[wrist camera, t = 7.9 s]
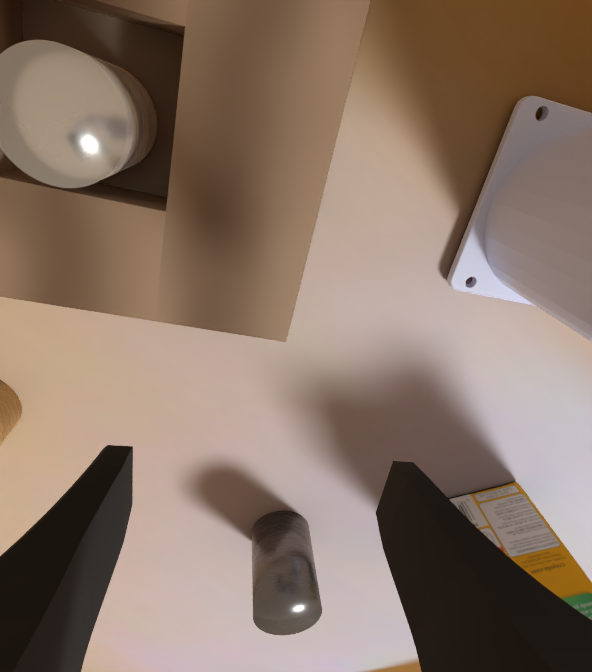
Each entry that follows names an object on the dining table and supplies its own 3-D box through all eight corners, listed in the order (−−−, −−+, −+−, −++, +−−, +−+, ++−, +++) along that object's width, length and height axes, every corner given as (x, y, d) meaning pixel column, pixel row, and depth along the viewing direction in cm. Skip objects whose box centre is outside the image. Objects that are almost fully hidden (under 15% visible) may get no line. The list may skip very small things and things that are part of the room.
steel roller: (166, 84, 16) (136, 71, 11) (147, 181, 17) (114, 205, 13) (62, 45, 15) (-14, 14, 10) (51, 150, 16) (-20, 163, 12)
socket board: (371, -65, 14) (395, -97, 12) (281, 317, 20) (286, 341, 18) (-206, -272, 11) (-316, -366, 9) (-117, 249, 17) (-171, 269, 15)
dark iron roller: (314, 513, 26) (329, 594, 22) (301, 552, 28) (312, 635, 23) (257, 508, 26) (260, 590, 21) (246, 549, 27) (247, 634, 23)
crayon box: (406, 539, 28) (500, 782, 18) (402, 508, 27) (500, 751, 17) (516, 513, 28) (673, 741, 18) (517, 480, 27) (688, 706, 17)
